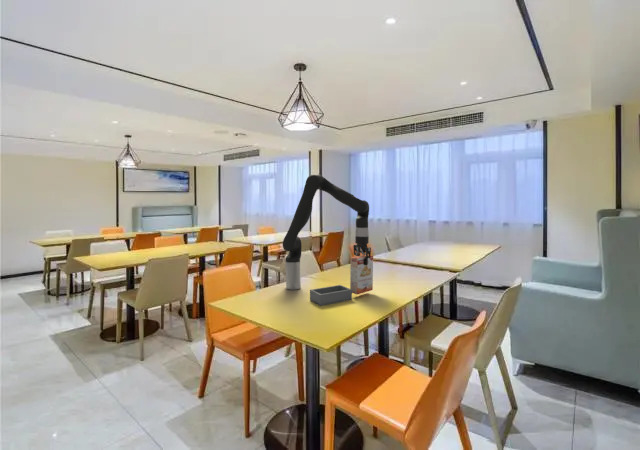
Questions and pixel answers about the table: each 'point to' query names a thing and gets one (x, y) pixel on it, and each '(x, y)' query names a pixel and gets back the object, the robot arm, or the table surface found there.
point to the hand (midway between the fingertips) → (361, 263)
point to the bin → (330, 295)
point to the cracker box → (361, 275)
